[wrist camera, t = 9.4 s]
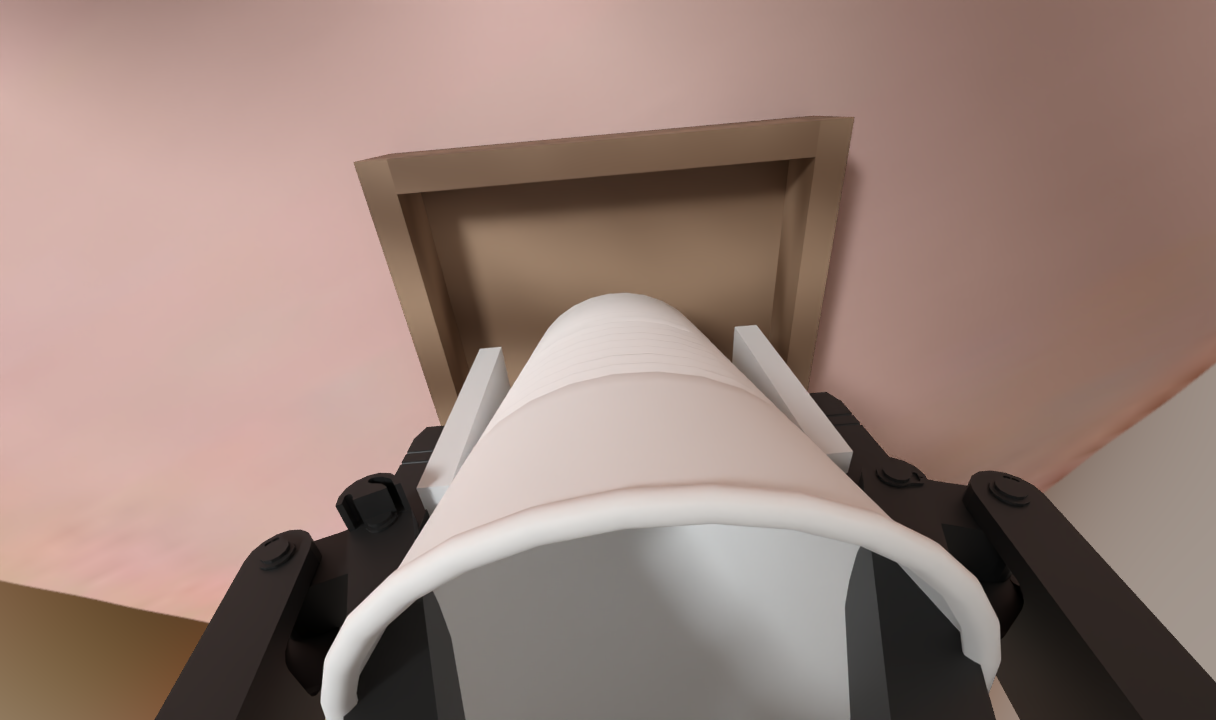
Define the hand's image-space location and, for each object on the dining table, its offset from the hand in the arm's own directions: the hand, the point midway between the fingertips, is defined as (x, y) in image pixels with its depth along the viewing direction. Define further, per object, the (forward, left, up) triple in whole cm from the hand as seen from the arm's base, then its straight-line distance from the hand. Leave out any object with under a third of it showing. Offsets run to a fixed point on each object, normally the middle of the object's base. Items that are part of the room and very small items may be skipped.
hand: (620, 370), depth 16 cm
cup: (0, 0, 0) cm, 0 cm away
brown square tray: (0, 0, -4) cm, 4 cm away
